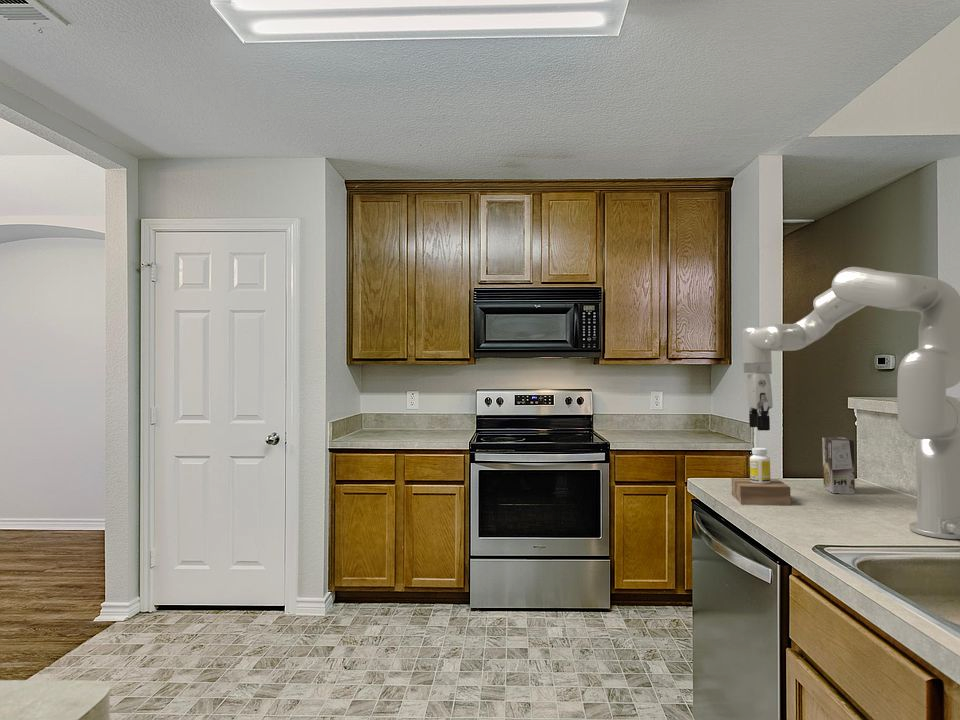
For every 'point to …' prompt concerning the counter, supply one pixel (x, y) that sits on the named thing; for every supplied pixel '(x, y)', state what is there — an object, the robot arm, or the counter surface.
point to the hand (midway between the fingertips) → (759, 428)
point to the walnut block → (761, 492)
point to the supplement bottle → (760, 466)
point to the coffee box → (838, 465)
